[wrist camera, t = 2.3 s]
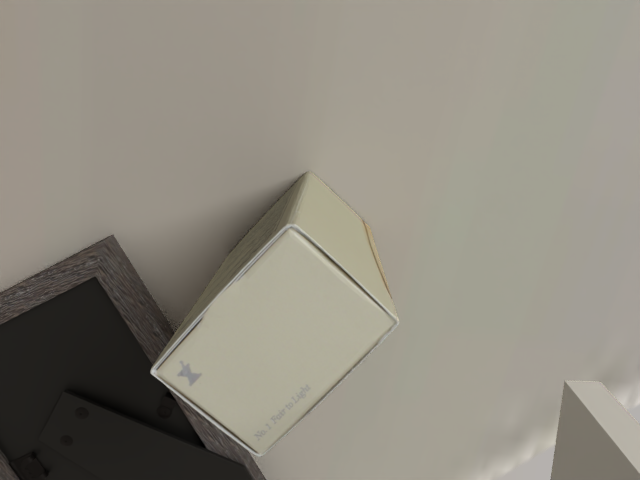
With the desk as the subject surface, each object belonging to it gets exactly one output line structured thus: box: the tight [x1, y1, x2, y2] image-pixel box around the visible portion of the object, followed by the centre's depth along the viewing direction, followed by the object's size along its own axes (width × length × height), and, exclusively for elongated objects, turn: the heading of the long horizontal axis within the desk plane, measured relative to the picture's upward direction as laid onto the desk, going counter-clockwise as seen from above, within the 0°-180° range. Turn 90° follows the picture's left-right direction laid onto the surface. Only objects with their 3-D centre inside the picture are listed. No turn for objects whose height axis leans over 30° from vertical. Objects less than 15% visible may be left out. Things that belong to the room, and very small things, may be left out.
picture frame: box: [0, 235, 266, 480], centre depth 30 cm, size 13×2×18 cm
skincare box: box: [150, 172, 399, 457], centre depth 21 cm, size 6×4×12 cm
